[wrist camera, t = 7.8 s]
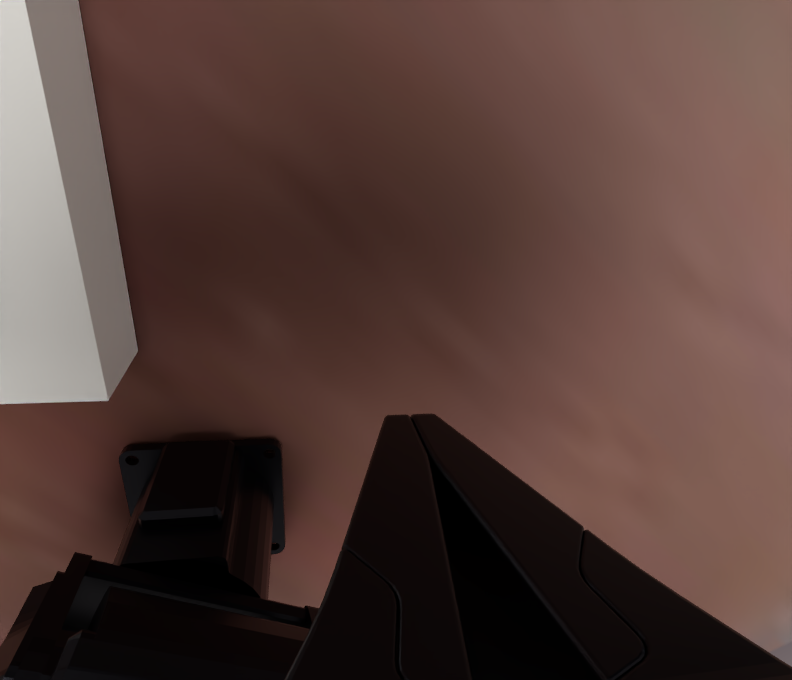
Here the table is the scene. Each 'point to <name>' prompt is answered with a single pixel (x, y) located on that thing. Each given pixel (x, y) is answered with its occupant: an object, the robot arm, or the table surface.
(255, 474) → the robot arm
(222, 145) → the table surface
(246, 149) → the table surface
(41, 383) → the white base plate
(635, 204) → the table surface
